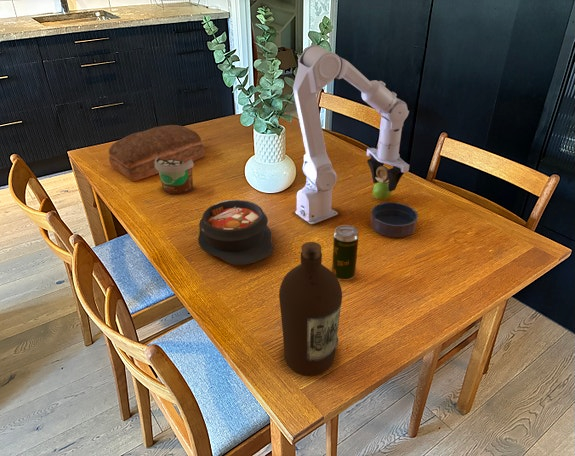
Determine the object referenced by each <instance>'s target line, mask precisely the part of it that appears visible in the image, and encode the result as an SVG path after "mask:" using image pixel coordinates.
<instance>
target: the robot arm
mask: <svg viewBox="0 0 575 456" xmlns="http://www.w3.org/2000/svg"><path fill="white" fill-rule="evenodd" d="M297 65H298V66H297V71H296V75H295V78H294V82H293V87H292V92H293V97H294V103H295V107H296V112H297V117H298V122H299V126H300V131H301V137H302V141H303V146H304V151H305V153H304V155H302V156H303V164H302V172H303V174H304V175H305V176H306V180H305V185H304V187H302V188H301V189H299V190H298V191H297V193H296V210H294V213H295V214H296V215H297V216H299V217H300V218H301V219H302V220H304V221H305V222H306V223H308V224H309V225H315V224H318V223H321V222H322V221H325V220H327V219H330V218H332V217H335V216H338V214H339V212H338V211H336V210H334V209H333V208H332V206H333V188H334V187H335V185H336V184H337V181H338V173H337V172H336V170H335V169H334V168H333V164H332V162H331V159H330V158H329V156H328V153H327V149H326V143H325V138H324V137H325V136H324V132H323V126H322V120H321V115H320V109H319V108H320V107H319V103H318V97H317V95H318V94H319V92H320V91H322V89H324V88H325V87H326V86H327V85H328V84H329V83H331V82H332V81H333V80H335V79H337V80H341V79H343V80H345V81H346V82H348V84H350V85H352V86H353V87H355V88H356V89H357V90H359V92H361V93H360V95H361V96H360V97H361V99H362V100H363V101H364V102H365V103H366V104H367V105H368V106H370V107H371V108H372V109H374V110H375V111H377V113H378V115H381V116H380V125H379V134H378V145H377V148H375V147H370V148H366V156H367V157H370V158H368V159H367V161H366V163H367V164H368V166H369V169H370V172H371V177H372V182H373V183H374V184H376V183H378V181H377V180H376V178H375V177H377V175H376V169H377V168H378V167H379V166H384V165H389V166H391V168H388V170H387V172H388V177H389V183H388V184H389V185H388V190H389V191H390V192H391V191H392V192H393V191H396V188H397V186H398V184H399V182H400V180H401V179H402V177H403V176H404V174H405V173H407V172H409V170H410V164H408V163H407V162H405V161H404V160H403V158H401V157H400V156H401V155H400V153H399V152H400V145H401V138H402V131H403V127H404V122H405V120H406V119H407V118H408V116H409V114H410V110H408V104H407V103H406V102H405V101H404V100H402V99H400V98H397V96H398V95H397V93H396V92H394V91H390V90H389V88H387V87H386V83H385V82H384V81H382V80H379V81H378V80H375V79H374V80H369V79H368V78H367V77H366V76H365V75H364V74H363V73H361V71H360V70H358V69H357V68H356V67H355V66H354V65H353V64H352V63H350V61H348V60H347V59H345V58H342V57H341V56H339V55H338V54H336V53H335V52H333V51H330V50H327V49H326V48H323V47H322V46H320V45H318V44H311V45H310V46H307V47H306V48H305V49H304V50H303V52H302V53H301V54H300V56H299V57H298V59H297ZM392 192H391V193H392Z"/></svg>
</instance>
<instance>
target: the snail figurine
mask: <svg viewBox="0 0 575 456" xmlns="http://www.w3.org/2000/svg"><path fill="white" fill-rule="evenodd" d="M388 169H389V167H387V166H386V165H385V166H384V165H383V166H379V167H378V168H377V169H376V175H377V177H375V178H376V180H377V181H378V182H377V183H374V185H373V187H372V196H374V198H375V199H377V200H379V201H385V200H387V199H389V198H390V196H391V195H392V192H393V191H391V192H390V191H389V190H388V185H389V177H388V172H387V170H388Z"/></svg>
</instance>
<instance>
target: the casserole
mask: <svg viewBox="0 0 575 456" xmlns="http://www.w3.org/2000/svg"><path fill="white" fill-rule="evenodd" d="M268 221H269V219H268V216H267V214H266V213H265V212H264V210H263V208H261V206H259V205H258V204H257V203H254V202H252V201H249V200H243V199H230V200H224V201H220V202H217V203H214V204H213V205H210V206H209V207H207V209H206V210H205V211H204V212H203V214H202V217H201V219H200V220H199V224H198V225H199V233H198V237H197V241H198V245H199V247H200V248H201V249H202V251H204V252H205V253H206V254H208V255H211V256H214V257H217V258H219V259H221V260H224V261H225V262H226V263H228V264H230V265H234V266H243V265H250V264H253V263H257V262H260V261H262V260H265V259H266V258H268V257H269V256H271V255H272V254H273V251H274V250H275V248H274V245H273V241H272V231H271V229H270V227H269V226H268Z"/></svg>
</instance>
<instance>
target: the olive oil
mask: <svg viewBox="0 0 575 456" xmlns="http://www.w3.org/2000/svg"><path fill="white" fill-rule="evenodd" d="M300 250H301V252H300V263H299V264H298V265H297V266H294V267H293V268H292V269H290V270H289V271H288V272H287V273H286V274H285V276H284V277H283V279H282V281H281V283H280V286H279V292H278V300H279V308H280V319H281V328H282V330H281V331H282V340H283V357H284V361H285V363H286V364H287V366H288V368H289V369H291V370H292V371H293V372H295V373H297V374H299V375H303V376H311V377H312V376H317V375H321V374H323V373H325V372H327V371H328V370H329V369H330V368H332V366H333V364H334V361H335V358H336V349H337V347H338V345H339V337H338V331H339V324H340V317H341V310H342V303H343V290H342V286H341V283H340V280H338V279H337V277H336V276H335V274H334V273H333V272H332V270H330V269H329V268H328V267H327V266H325V265H323V264H322V262H323V261H322V260H323V253H322V245H321V244H320V243H319V242H316V241H306V242H304V243H303V244H301V248H300Z"/></svg>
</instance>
